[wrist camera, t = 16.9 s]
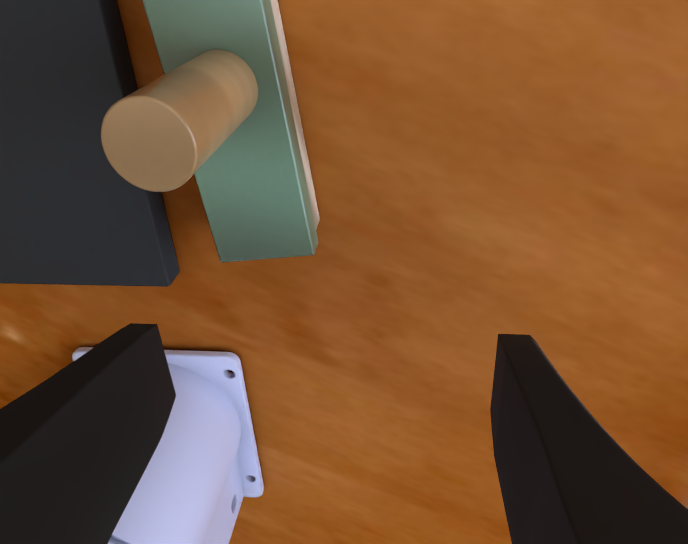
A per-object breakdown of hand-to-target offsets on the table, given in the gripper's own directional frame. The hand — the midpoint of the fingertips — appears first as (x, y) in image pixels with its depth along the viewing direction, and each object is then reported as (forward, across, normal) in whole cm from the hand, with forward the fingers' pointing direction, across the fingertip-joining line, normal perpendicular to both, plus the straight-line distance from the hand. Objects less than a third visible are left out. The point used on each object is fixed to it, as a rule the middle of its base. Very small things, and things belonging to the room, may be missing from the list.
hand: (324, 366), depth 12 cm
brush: (+10, +4, -4) cm, 12 cm away
